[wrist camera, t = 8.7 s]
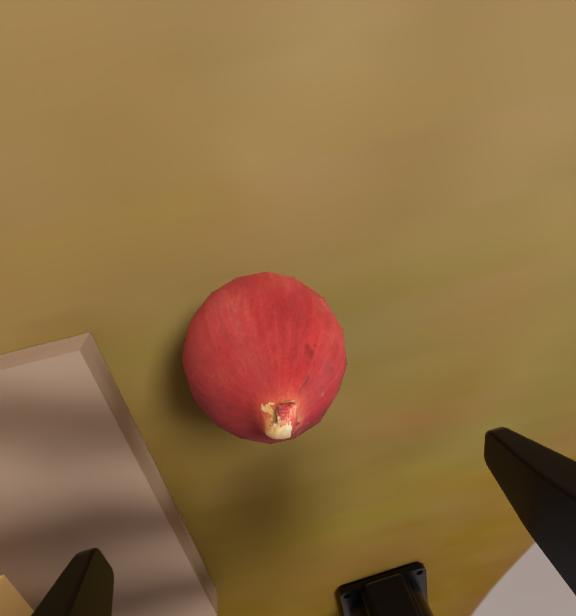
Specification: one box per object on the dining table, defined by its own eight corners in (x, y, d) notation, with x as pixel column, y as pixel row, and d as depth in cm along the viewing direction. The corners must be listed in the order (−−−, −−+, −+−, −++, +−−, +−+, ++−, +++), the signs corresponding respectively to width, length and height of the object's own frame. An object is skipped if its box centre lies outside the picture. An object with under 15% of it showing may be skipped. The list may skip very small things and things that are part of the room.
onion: (337, 326, 18) (418, 449, 11) (236, 386, 19) (252, 542, 12) (277, 223, 16) (333, 299, 9) (161, 295, 16) (122, 424, 9)
